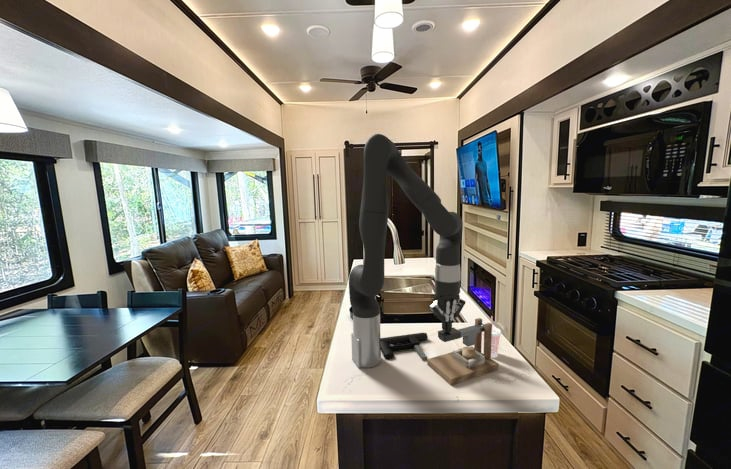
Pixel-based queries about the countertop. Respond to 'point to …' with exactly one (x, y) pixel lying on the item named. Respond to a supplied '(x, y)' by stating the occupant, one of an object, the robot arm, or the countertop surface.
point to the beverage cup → (494, 340)
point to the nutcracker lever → (462, 334)
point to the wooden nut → (468, 353)
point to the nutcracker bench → (462, 369)
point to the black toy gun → (412, 344)
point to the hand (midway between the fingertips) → (446, 331)
